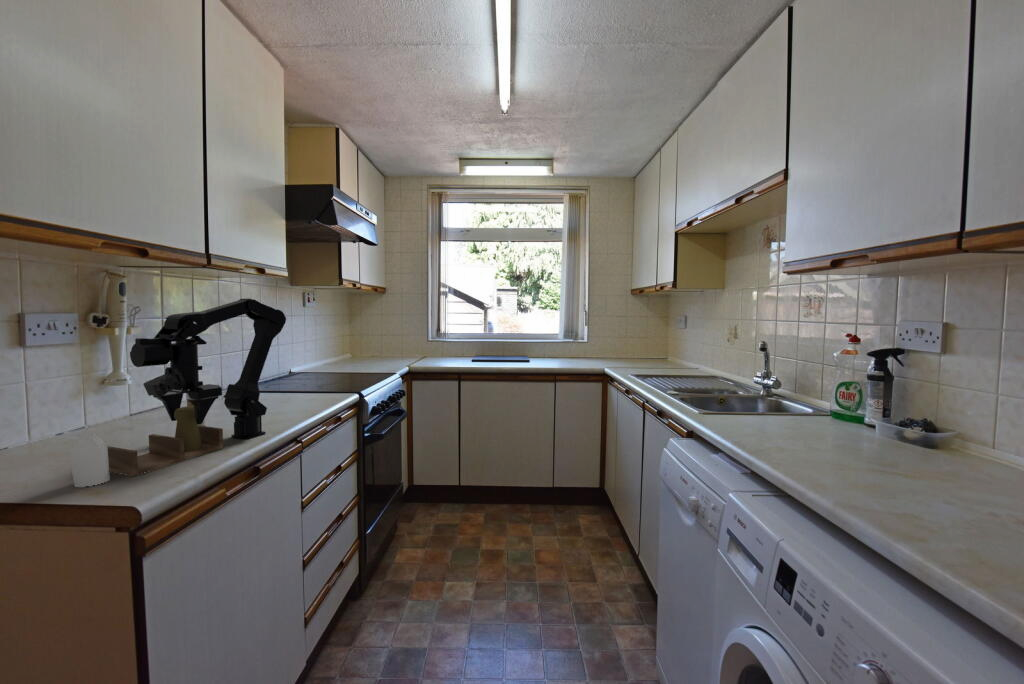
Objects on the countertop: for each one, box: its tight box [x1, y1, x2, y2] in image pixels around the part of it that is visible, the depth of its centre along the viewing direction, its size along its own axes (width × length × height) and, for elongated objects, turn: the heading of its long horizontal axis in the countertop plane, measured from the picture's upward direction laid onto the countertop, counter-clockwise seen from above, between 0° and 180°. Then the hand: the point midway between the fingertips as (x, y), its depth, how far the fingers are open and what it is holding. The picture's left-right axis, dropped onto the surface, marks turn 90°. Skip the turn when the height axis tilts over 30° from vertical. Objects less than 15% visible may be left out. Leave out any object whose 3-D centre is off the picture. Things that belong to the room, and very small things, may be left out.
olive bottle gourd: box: [174, 406, 202, 452], centre depth 110 cm, size 6×6×11 cm
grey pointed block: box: [70, 427, 111, 488], centre depth 90 cm, size 6×12×6 cm
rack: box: [107, 425, 224, 477], centre depth 106 cm, size 21×11×6 cm, turn 162°
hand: (186, 422), depth 110 cm, fingers open, 9 cm apart
